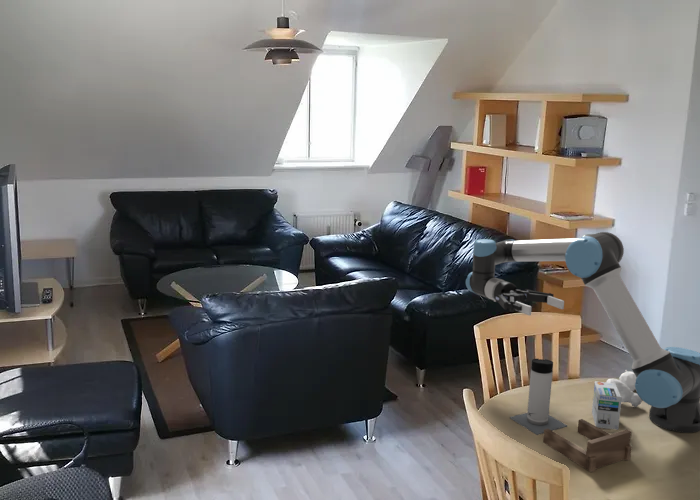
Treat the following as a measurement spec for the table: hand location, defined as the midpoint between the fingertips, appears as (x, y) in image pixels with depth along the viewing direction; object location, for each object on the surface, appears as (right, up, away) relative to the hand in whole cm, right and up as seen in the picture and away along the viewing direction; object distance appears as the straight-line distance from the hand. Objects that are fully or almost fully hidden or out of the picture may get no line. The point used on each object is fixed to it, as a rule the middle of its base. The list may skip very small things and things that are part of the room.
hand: (547, 308), depth 216 cm
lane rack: (+5, -38, -20) cm, 44 cm away
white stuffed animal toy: (+27, -32, +9) cm, 43 cm away
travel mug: (-4, -34, -4) cm, 35 cm away
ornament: (+33, -30, +21) cm, 49 cm away
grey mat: (-4, -34, -4) cm, 35 cm away
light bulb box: (+17, -35, -2) cm, 39 cm away
